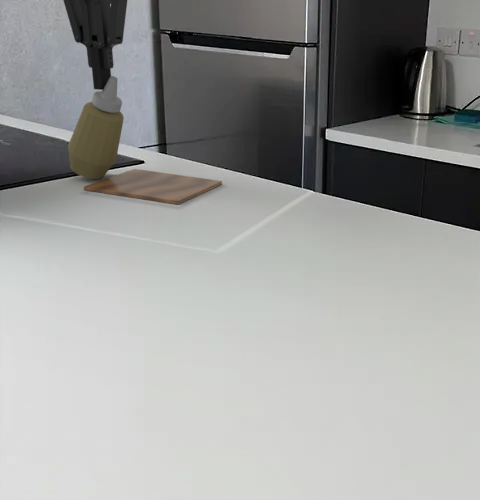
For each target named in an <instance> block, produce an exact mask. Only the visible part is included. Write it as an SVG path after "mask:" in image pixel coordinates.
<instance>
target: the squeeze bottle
mask: <svg viewBox="0 0 480 500" xmlns="http://www.w3.org/2000/svg"><path fill="white" fill-rule="evenodd" d="M122 106H123V101H122V99H121V98H120V97H118V77H116V76H114V75H111V76H110V78H109V80H108V82H107V83H106V85H105V87H104V90H98V91H95V92H94V93H93V95H92V98H91V101H89V102H86V103H85V104H84V105H83V107H82V109H81V113H80V114H79V118H78V120H77V122H76V125H75V126H74V127H75V128H74V130H73V133H72V135H71V138H70V140H69V143H68V145H67V149H68V158H69V168H70V170H72V172H73V173H75V174H76V175H78V176H80V177H83V178H87V179H91V180H99V179H103V178H104V176H105V175H106V174H107V173H108V172H109V170H110V169H111V168H112V166H113V165H114V164H115V162H116V161H117V159H118V151H119V147H120V140H121V136H122V129H123V125H124V119H125V117H124V114H123V113H122V112H121V109H122Z"/></svg>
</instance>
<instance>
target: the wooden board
mask: <svg viewBox="0 0 480 500" xmlns="http://www.w3.org/2000/svg"><path fill="white" fill-rule="evenodd" d="M221 185H223V180H219V179H218V180H217V179H210V178H205V177H204V178H203V177H195V176H189V175H181V174H175V173H167V172H161V171H160V172H159V171H153V170H146V169H139V168H132V169H130V170H127V171H124V172H122V173H119V174H115V175H113V176H110V177H108V178H105V179H102V180H99V181H96V182H93V183H90V184H87V185H84V186H83V191H88V192H95V193H101V194H108V195H113V196H121V197H127V198H134V199H140V200H146V201H153V202H159V203H166V204H173V205H180V204H181V205H182V204H183V203H185V202H187V201H189V200H191V199H194V198H195V197H198V196H200V195H202V194H205V193H206V192H209V191H210V190H213V189H215V188H217V187H219V186H221Z"/></svg>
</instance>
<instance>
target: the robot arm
mask: <svg viewBox="0 0 480 500" xmlns="http://www.w3.org/2000/svg"><path fill="white" fill-rule="evenodd" d="M62 1H63V4H64V7H65V10H66V14H67V18H68V21H69V24H70V28H71V32H72V35H73V39H74V41H75V42H76V43H78V44H82V45H83V46H85V48H86V55H87V65H88V68H91V74H92V83H93V84H92V85H93V90H98V91H102V90H104V87H105V85H106V83H107V82H108V80H109V78H110V76H112V70H111V69H113V68H114V54H113V48H114V47H115V46H118V45H121V44H123V41H124V33H125V25H126V15H127V7H128V0H62Z"/></svg>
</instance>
